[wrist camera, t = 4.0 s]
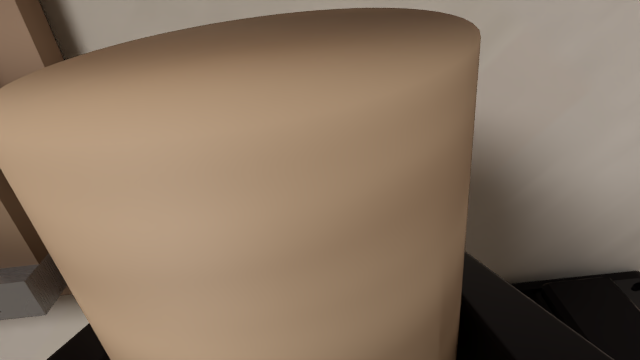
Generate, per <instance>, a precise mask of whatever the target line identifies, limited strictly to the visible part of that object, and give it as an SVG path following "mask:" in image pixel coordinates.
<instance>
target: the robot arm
mask: <svg viewBox="0 0 640 360" xmlns="http://www.w3.org/2000/svg"><path fill="white" fill-rule="evenodd" d="M47 360H111V359H110V358H109V356H108V354H107V353H106V351H105V349H104V347H103V346H102V344H101V342H100V340H99V339H98V337H97V335H96V333H95V332H94V330H93V328H92V327H91V325H90V323H89V324H88V325H87V326H86V327H84V328H83V329H82V330H81V331H80V332H78V333H77V334H76V335H75V336H74V337H73V338H71V339H70V340H69V341H68V342H67V343H66V344H64V345H63V346H62V347H61V348H60V349H58V350H57V351H56V352H55V353H54V354H53V355H51V356H50V357H49V358H48V359H47ZM456 360H640V272H639V271H630V272H621V273H611V274H601V275H592V276H582V277H573V278H563V279H554V280H544V281H535V282H525V283H516V284H509V283H508V282H507V281H505V280H504V279H502V278H501V277H500V276H498V275H497V274H496V273H494V272H493V271H491V270H490V269H489V268H487V267H486V266H485V265H483V264H482V263H480V262H479V261H478V260H476V259H475V258H474V257H472V256H471V255H469V254H468V253H467V252H464V266H463V279H462V292H461V305H460V318H459V332H458V345H457V358H456Z"/></svg>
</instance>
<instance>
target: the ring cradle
mask: <svg viewBox="0 0 640 360" xmlns="http://www.w3.org/2000/svg"><path fill="white" fill-rule="evenodd" d="M61 61H64V59H63V57H62V55H61V52H60V50H59V48H58V45H57V43H56V41H55V38H54V36H53V34H52V31H51V29H50V26H49V24H48V22H47V19H46V17H45V15H44V12H43V10H42V8H41V5H40V3H39V0H0V88H2V87H3V86H5V85H7V84H9V83H11V82H13V81H15V80H17V79H19V78H21V77H23V76H26V75H28V74H30V73H33V72H35V71H37V70H40V69H42V68H45V67H48V66H50V65H53V64H56V63H58V62H61ZM69 294H72V292H71V290H70V288H69V287H68V285H67V283H66V281H65V280H64V278H63V276H62V274H61V273H60V271H59V269H58V268H57V266H56V264H55V262H54V261H53V259H52V257H51V255H50V254H49V252H48V250H47V248H46V247H45V245H44V243H43V242H42V240H41V238H40V236H39V235H38V233H37V231H36V229H35V228H34V226H33V224H32V222H31V221H30V219H29V217H28V216H27V214H26V212H25V210H24V209H23V207H22V205H21V203H20V202H19V200H18V198H17V196H16V195H15V193H14V191H13V190H12V188H11V186H10V184H9V183H8V181H7V179H6V177H5V176H4V174H3V172H2V170H1V169H0V320H4V319H13V318H23V317H32V316H41V315H46V314H47V313H48V311H49V310H50V308H51V307H52V306H53V304H54V303H55V302H56V300H57V299H58V297H59V296H60V295H69Z"/></svg>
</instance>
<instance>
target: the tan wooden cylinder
mask: <svg viewBox="0 0 640 360" xmlns="http://www.w3.org/2000/svg"><path fill="white" fill-rule="evenodd" d="M480 41H481V36H480V31H479V29H478V28H477V27H476V26H475V25H474V24H473V23H471V22H469V21H467V20H466V19H463V18H460V17H457V16H454V15H450V14H446V13H441V12H435V11H427V10H418V9H403V8H350V9H331V10H316V11H305V12H294V13H285V14H276V15H268V16H260V17H253V18H246V19H239V20H233V21H226V22H220V23H214V24H209V25H203V26H197V27H192V28H187V29H182V30H177V31H172V32H168V33H163V34H158V35H154V36H150V37H145V38H141V39H137V40H133V41H129V42H125V43H121V44H117V45H114V46H110V47H106V48H103V49H99V50H96V51H92V52H89V53H86V54H83V55H79V56H76V57H73V58H70V59H67V60H64V61H61V62H58V63H56V64H53V65H50V66H48V67H45V68H42V69H40V70H37V71H35V72H33V73H30V74H28V75H26V76H23V77H21V78H19V79H17V80H15V81H13V82H11V83H9V84H7V85H5V86H3V87H2V88H0V169H1V170H2V172H3V174H4V176H5V177H6V179H7V181H8V183H9V184H10V186H11V188H12V190H13V191H14V193H15V195H16V196H17V198H18V200H19V202H20V203H21V205H22V207H23V209H24V210H25V212H26V214H27V216H28V217H29V219H30V221H31V222H32V224H33V226H34V228H35V229H36V231H37V233H38V235H39V236H40V238H41V240H42V242H43V243H44V245H45V247H46V248H47V250H48V252H49V254H50V255H51V257H52V259H53V261H54V262H55V264H56V266H57V268H58V269H59V271H60V273H61V274H62V276H63V278H64V280H65V281H66V283H67V285H68V287H69V288H70V290H71V292H72V294H73V295H74V297H75V299H76V301H77V302H78V304H79V306H80V307H81V309H82V311H83V313H84V314H85V316H86V318H87V320H88V321H89V323H90V325H91V327H92V328H93V330H94V332H95V333H96V335H97V337H98V339H99V340H100V342H101V344H102V346H103V347H104V349H105V351H106V353H107V354H108V356H109V358H110V359H111V360H456V358H457V345H458V332H459V318H460V305H461V292H462V279H463V266H464V252H465V239H466V226H467V213H468V199H469V186H470V173H471V160H472V146H473V133H474V120H475V107H476V94H477V80H478V67H479V54H480Z"/></svg>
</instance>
